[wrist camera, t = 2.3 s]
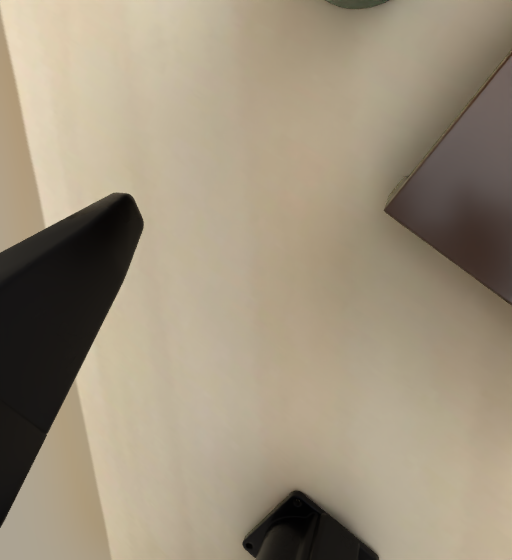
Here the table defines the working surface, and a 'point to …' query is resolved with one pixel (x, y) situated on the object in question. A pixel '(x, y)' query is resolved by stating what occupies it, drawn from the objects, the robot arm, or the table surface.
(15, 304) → the robot arm
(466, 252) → the shelf
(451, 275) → the table surface
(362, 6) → the tea tin
